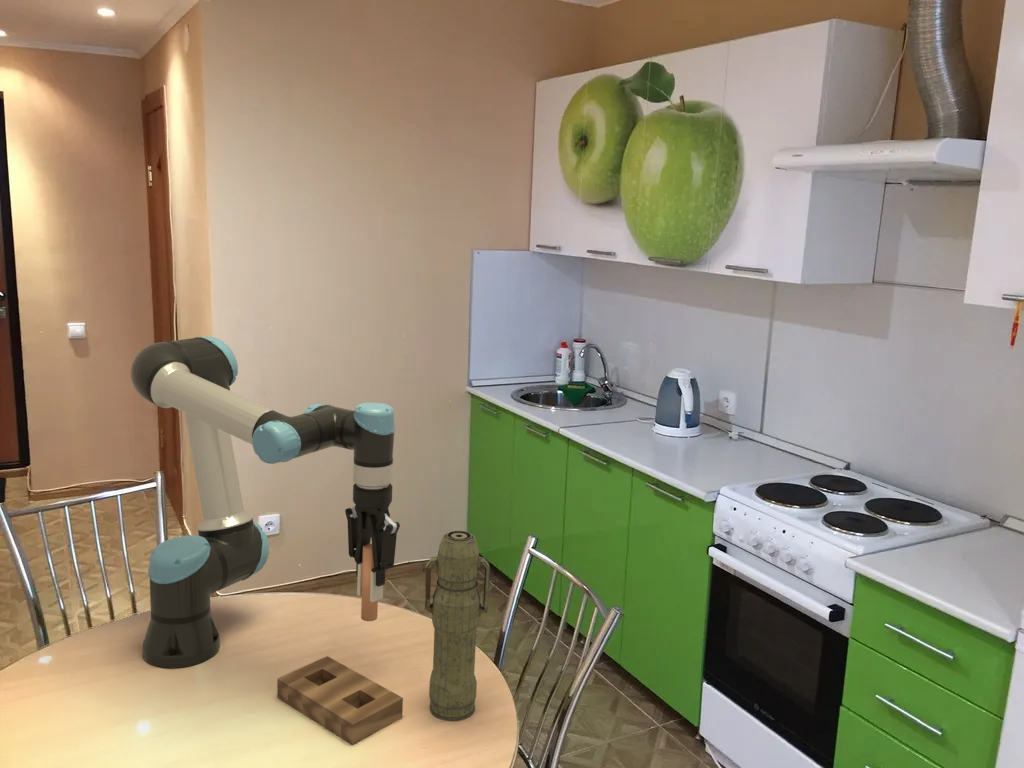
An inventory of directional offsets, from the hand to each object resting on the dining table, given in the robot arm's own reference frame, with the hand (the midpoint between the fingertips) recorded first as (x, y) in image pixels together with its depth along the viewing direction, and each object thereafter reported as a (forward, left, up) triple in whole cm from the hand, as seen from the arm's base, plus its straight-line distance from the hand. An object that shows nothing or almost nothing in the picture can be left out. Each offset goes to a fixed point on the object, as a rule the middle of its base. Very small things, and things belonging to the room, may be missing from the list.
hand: (369, 596), depth 174 cm
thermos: (+20, +4, -18) cm, 27 cm away
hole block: (+4, -11, -18) cm, 21 cm away
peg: (0, 0, -5) cm, 5 cm away
